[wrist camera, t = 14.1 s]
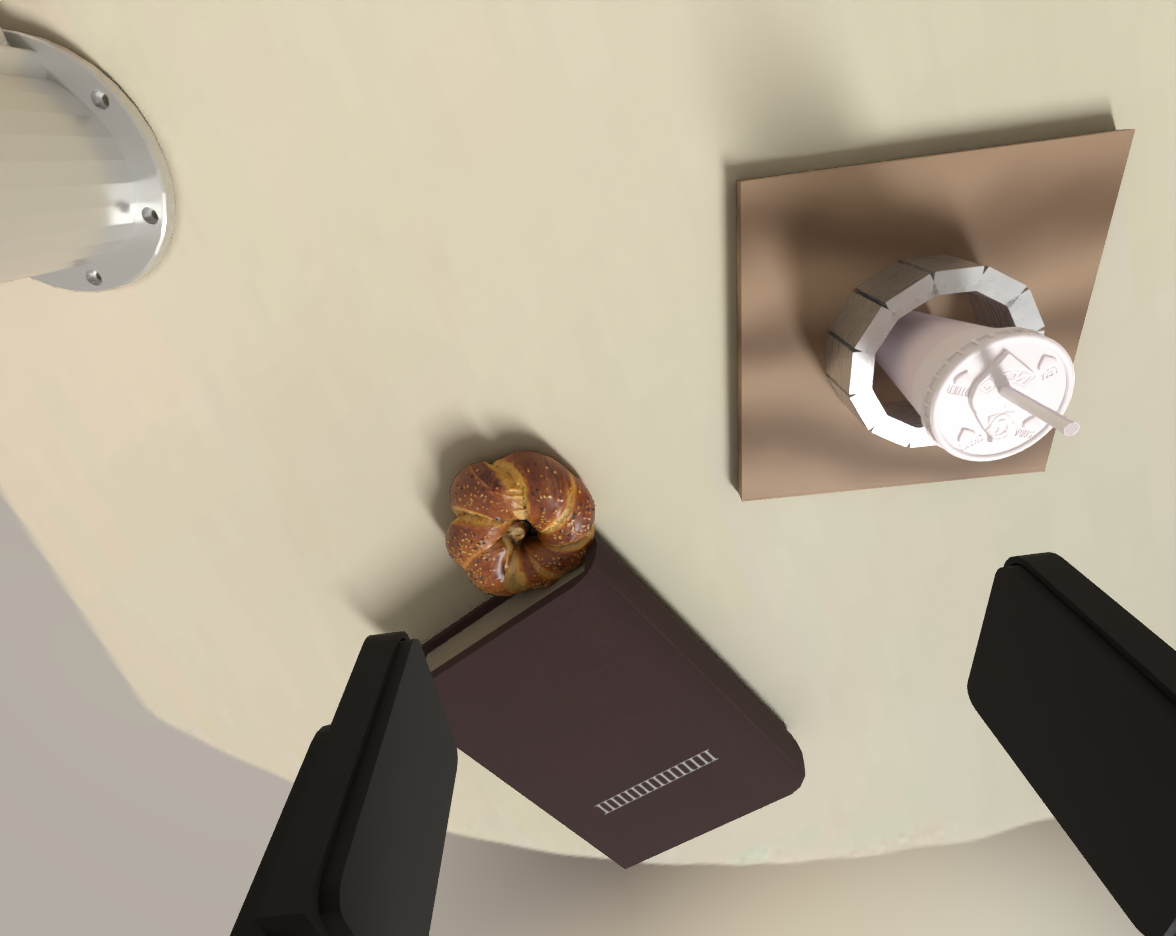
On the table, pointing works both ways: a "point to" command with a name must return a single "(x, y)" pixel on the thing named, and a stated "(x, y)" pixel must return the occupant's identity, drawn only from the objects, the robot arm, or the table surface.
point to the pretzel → (519, 523)
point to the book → (609, 712)
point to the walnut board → (867, 245)
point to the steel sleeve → (891, 299)
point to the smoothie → (979, 383)
